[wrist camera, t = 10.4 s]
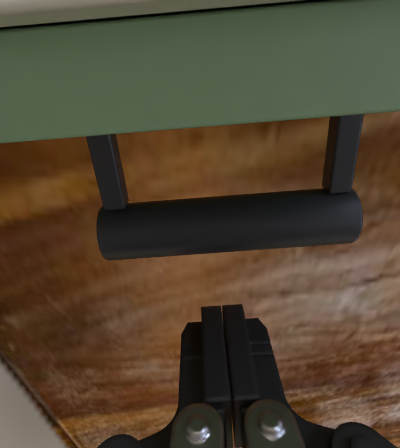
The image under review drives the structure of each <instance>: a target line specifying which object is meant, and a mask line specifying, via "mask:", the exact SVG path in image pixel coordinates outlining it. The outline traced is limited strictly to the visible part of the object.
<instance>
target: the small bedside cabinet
mask: <svg viewBox="0 0 400 448" xmlns="http://www.w3.org/2000/svg"><path fill="white" fill-rule="evenodd" d="M316 1H327V0H0V30H1V29H12V28H23V27H34V26H46V25H57V24H68V23H79V22H91V21H102V20H113V19H124V18H136V17H147V16H158V15H169V14H181V13H192V12H203V11H215V10H226V9H237V8H248V7H260V6H271V5H282V4H293V3H305V2H316Z"/></svg>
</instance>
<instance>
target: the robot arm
mask: <svg viewBox="0 0 400 448" xmlns="http://www.w3.org/2000/svg"><path fill="white" fill-rule="evenodd" d="M222 312H223V321H222ZM222 312H221V306H208V307H201V316H202V322H190V323H187V325H186V327H185V329H184V331H183V332H182V334H181V356H180V359H181V361H180V379H179V401H178V408H177V412H176V414H175V416H174V418H173V419H172V421H171V422H170V423H169V424H168V425H167V426H166V427H165V428H164V429H162V430H161V431H159V432H157V433H155V434H153V435H151V436H148V437H146V438H144V439H141V440H139V441H138V440H137V439H135V438H134V437H132V436H130V435H126V434H119V435H115V436H112V437H110V438H108V439H106V440H105V441H104V442H102V443H101V444H100V445H99V446H98V447H97V448H233V438H232V423H233V433H234V442H235V447H242V448H397V447H396V446H394V445H393V444H392V443H390V442H389V441H388V440H387V439H385V438H384V437H383V436H381V435H380V434H379V433H378V432H376V431H375V430H373V429H372V428H370V427H368V426H366V425H364V424H361V423H357V422H346V423H343V424H341V425H340V426H338V427H337V428H336V430H335V429H331V428H328V427H324V426H320V425H317V424H313V423H311V422H308V421H306V420H304V419H303V418H301V417H300V416H298V415H297V414H296V413H295V412H294V411H293V410H292V409H291V407H290V406H289V404H288V402H287V400H286V398H285V395H284V391H283V387H282V384H281V380H280V376H279V372H278V369H277V365H276V361H275V357H274V355H273V350H272V346H271V344H270V339H269V335H268V331H267V328H266V327H265V326H264V325H263V324H262V322H261V321H260V320H259V319H258V318H250V319H245V316H244V311H243V306H242V304H237V305H222Z"/></svg>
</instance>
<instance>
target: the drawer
mask: <svg viewBox="0 0 400 448" xmlns="http://www.w3.org/2000/svg"><path fill="white" fill-rule="evenodd" d="M394 111H400V0H327V1H316V2H305V3H293V4H282V5H271V6H260V7H248V8H237V9H226V10H215V11H203V12H192V13H181V14H169V15H158V16H147V17H136V18H124V19H113V20H102V21H91V22H79V23H68V24H57V25H46V26H34V27H23V28H12V29H1V30H0V143H10V142H22V141H35V140H47V139H59V138H72V137H84V136H86V138H87V142H88V146H89V151H90V155H91V159H92V163H93V167H94V171H95V175H96V179H97V183H98V187H99V191H100V196H101V200H102V204H103V206H102V207H101V208H100V210H99V213H98V217H97V240H98V245H99V248H100V251H101V254H102V256H103V257H104V258H105V259H106V260H122V259H136V258H150V257H164V256H178V255H192V254H206V253H220V252H234V251H248V250H262V249H276V248H290V247H304V246H318V245H332V244H345V243H353V242H355V241H356V240H357V239H358V238H359V236H360V233H361V230H362V224H363V212H362V206H361V202H360V199H359V197H358V195H357V193H356V192H355V191H354V190H353V189H352V183H353V177H354V171H355V165H356V159H357V153H358V147H359V140H360V134H361V128H362V122H363V116H364V114H369V113H382V112H394ZM320 117H330V121H329V130H328V139H327V147H326V156H325V165H324V173H323V182H322V186H323V188H322V189H309V190H296V191H282V192H269V193H256V194H243V195H230V196H216V197H203V198H190V199H177V200H163V201H150V202H137V203H128V201H129V198H128V193H127V188H126V183H125V178H124V173H123V168H122V163H121V158H120V153H119V148H118V143H117V138H116V134H121V133H134V132H146V131H159V130H171V129H183V128H196V127H208V126H221V125H233V124H245V123H258V122H270V121H283V120H295V119H307V118H320Z"/></svg>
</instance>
